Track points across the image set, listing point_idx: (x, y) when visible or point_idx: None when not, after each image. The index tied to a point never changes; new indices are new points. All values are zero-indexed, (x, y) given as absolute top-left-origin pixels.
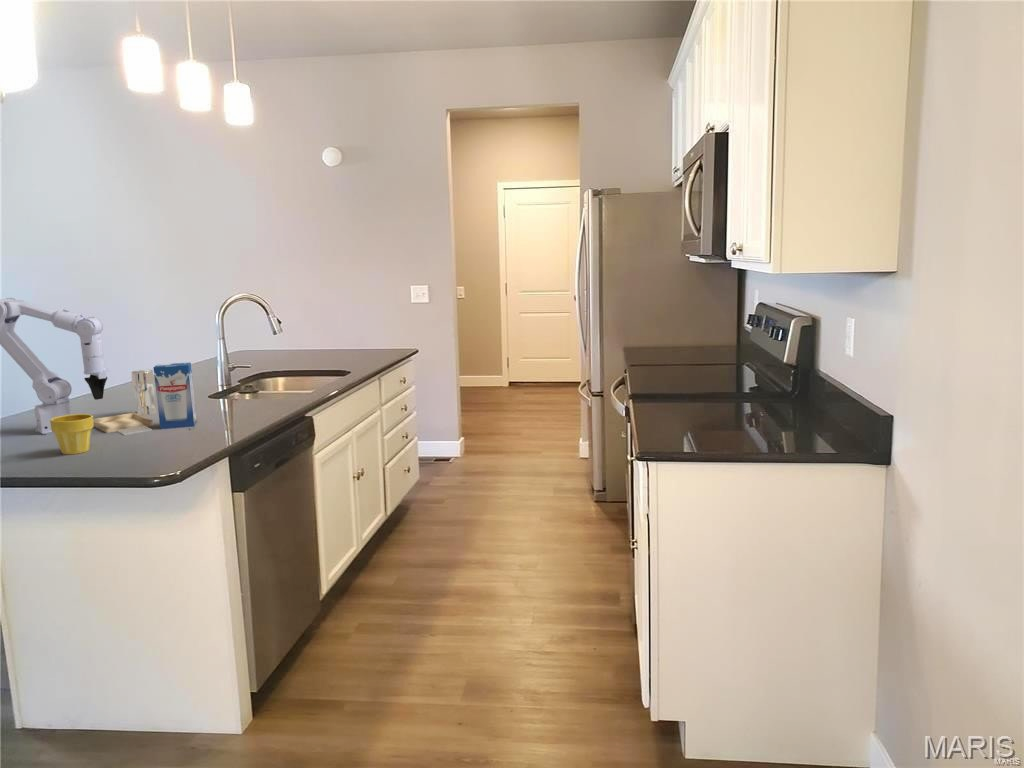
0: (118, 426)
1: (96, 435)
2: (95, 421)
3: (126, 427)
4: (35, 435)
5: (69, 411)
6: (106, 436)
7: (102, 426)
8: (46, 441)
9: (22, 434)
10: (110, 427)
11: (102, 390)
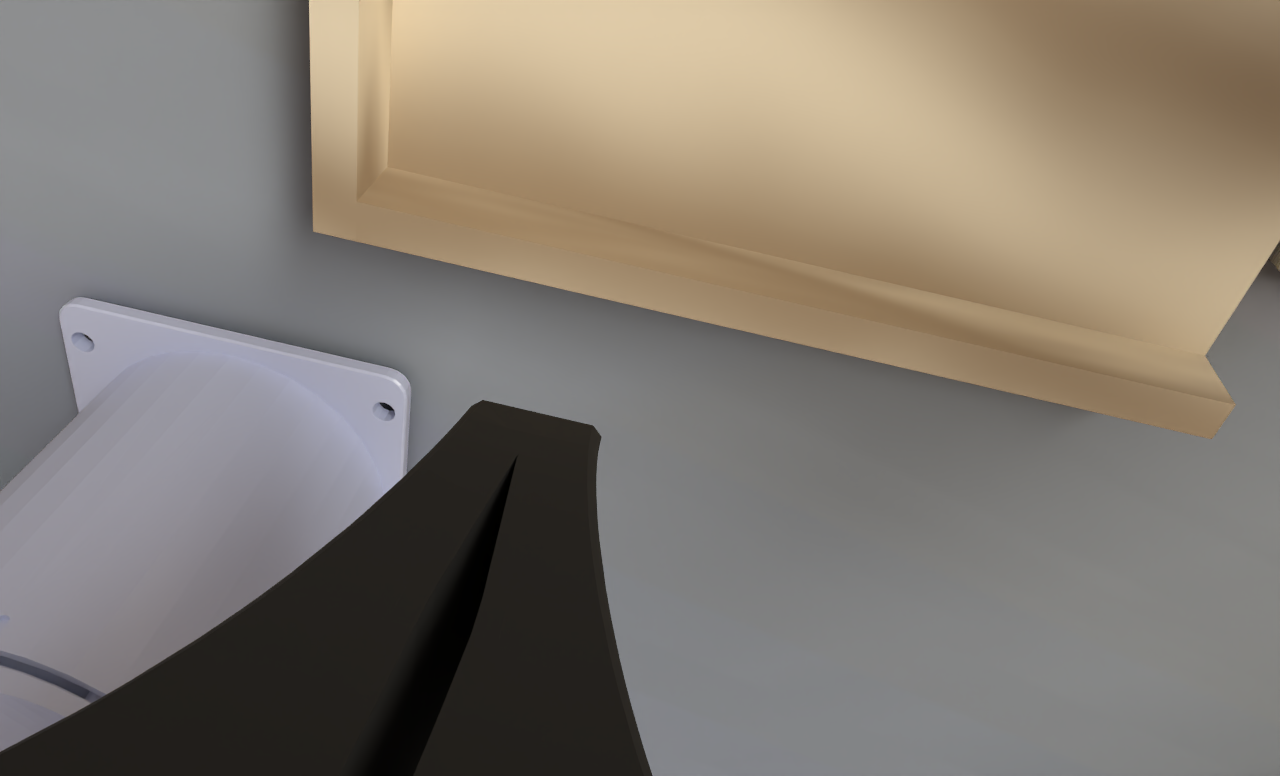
0: (961, 45)
1: (1034, 442)
2: (546, 263)
3: (1217, 16)
4: None
5: (215, 566)
6: (1253, 423)
7: (1010, 386)
8: (728, 738)
9: None
10: (885, 161)
11: (594, 623)
